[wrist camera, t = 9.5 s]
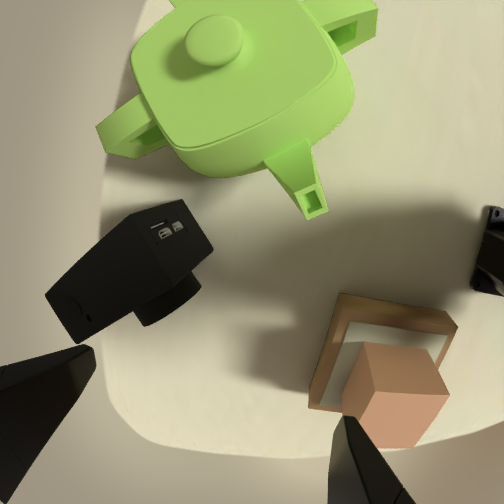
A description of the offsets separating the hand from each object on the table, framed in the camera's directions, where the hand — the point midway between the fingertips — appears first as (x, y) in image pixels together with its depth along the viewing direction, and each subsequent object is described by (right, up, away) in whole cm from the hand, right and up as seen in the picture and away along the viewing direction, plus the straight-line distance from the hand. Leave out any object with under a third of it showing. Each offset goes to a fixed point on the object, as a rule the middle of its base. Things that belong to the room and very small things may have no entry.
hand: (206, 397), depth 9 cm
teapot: (+2, +15, +9) cm, 17 cm away
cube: (+11, -4, +9) cm, 15 cm away
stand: (+11, -3, +12) cm, 17 cm away
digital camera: (-6, +4, +14) cm, 15 cm away
